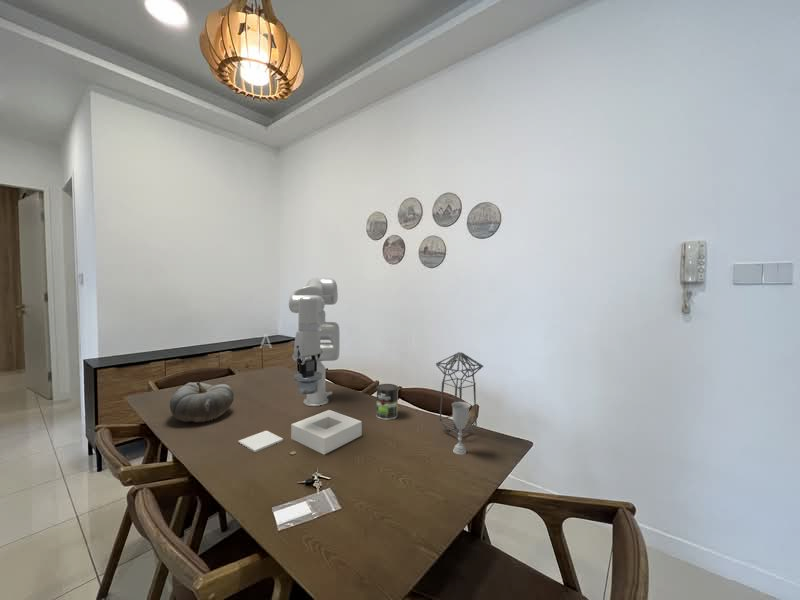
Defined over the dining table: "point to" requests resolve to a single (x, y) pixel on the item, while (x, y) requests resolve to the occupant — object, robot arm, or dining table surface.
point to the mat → (260, 441)
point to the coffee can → (387, 401)
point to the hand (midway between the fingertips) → (308, 372)
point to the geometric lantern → (459, 356)
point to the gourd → (201, 402)
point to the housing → (326, 431)
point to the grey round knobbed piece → (308, 378)
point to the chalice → (460, 422)
